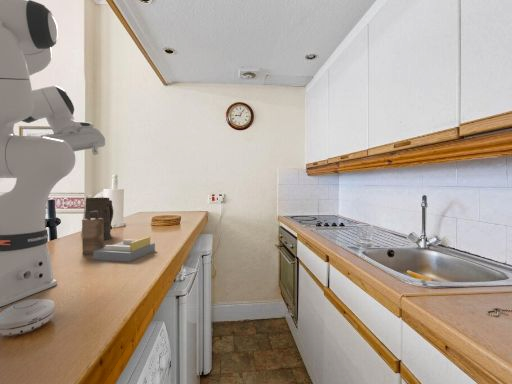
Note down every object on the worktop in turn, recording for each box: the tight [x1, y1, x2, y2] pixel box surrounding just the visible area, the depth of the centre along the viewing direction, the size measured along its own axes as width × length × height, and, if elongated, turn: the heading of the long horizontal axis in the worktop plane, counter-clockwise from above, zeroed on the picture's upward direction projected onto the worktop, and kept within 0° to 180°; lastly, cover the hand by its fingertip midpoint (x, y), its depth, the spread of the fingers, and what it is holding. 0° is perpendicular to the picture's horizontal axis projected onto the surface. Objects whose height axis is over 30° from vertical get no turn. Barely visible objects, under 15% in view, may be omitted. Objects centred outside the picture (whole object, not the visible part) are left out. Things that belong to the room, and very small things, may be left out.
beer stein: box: [84, 197, 114, 241], centre depth 136 cm, size 15×11×20 cm
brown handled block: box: [81, 211, 105, 256], centre depth 108 cm, size 5×5×16 cm
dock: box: [93, 236, 156, 263], centre depth 106 cm, size 14×16×6 cm
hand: (82, 155), depth 103 cm, fingers open, 8 cm apart
